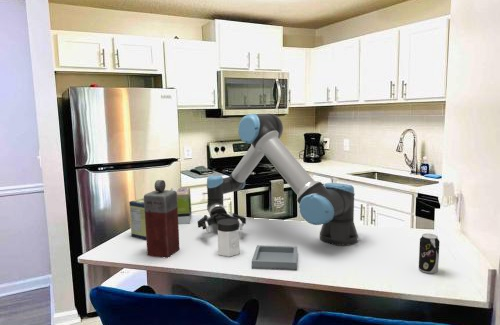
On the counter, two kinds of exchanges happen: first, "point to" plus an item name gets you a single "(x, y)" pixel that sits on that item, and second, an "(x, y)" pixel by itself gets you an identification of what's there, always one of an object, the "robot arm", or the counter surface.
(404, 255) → the counter surface
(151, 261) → the counter surface
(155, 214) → the red square bottle
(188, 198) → the tea box
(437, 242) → the beverage can
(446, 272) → the counter surface
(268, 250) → the tray
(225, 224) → the jar
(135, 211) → the protein box
